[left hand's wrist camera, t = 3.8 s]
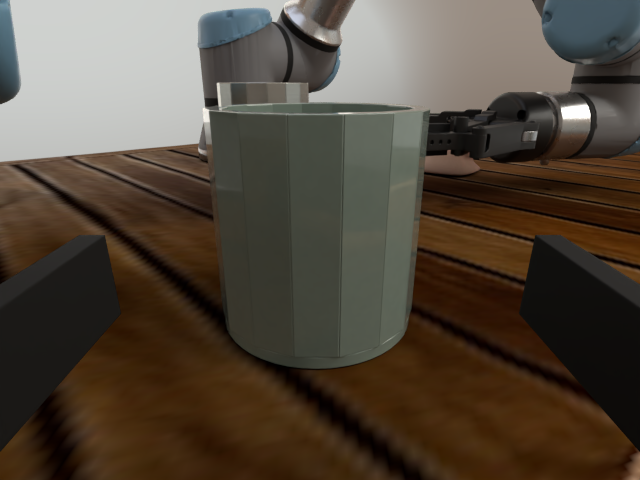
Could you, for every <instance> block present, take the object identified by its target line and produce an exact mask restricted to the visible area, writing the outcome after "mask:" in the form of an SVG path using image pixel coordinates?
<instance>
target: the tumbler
mask: <svg viewBox="0 0 640 480" xmlns="http://www.w3.org/2000/svg"><path fill="white" fill-rule="evenodd" d="M217 93H218V104H219V106H220V105H234V104H258V103H308V83H217Z"/></svg>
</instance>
